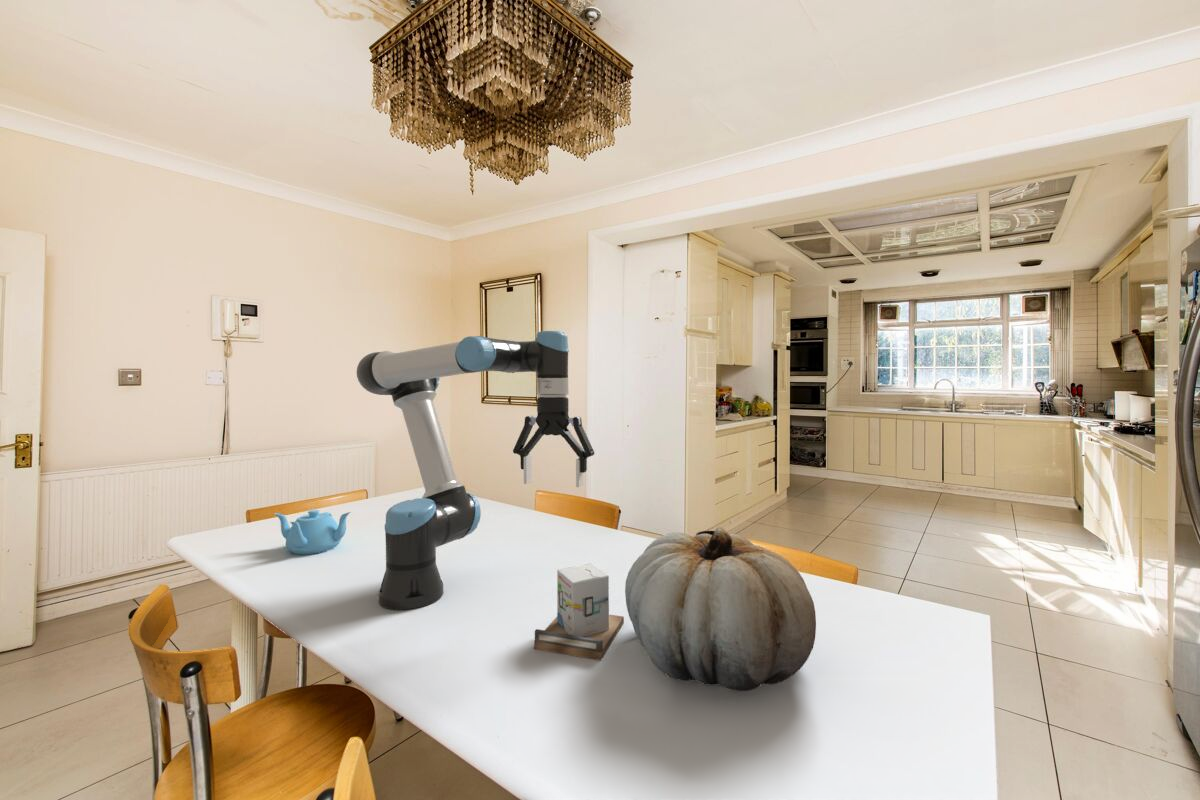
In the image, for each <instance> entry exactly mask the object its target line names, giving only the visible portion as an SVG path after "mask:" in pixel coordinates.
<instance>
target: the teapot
mask: <svg viewBox="0 0 1200 800" xmlns="http://www.w3.org/2000/svg"><path fill="white" fill-rule="evenodd" d="M307 513H308V514H305V515H302V516H299V517H298V518H296V519H295V521H290V522H288V519H287V517H286V515H285V514H284V513H283V514H282V513H279V512H274V513H273V514H274V515H275V516H276V517H277V518H278V519H279V522H280V532H281V535H282V537H283V538H284V539H285V548H286V549H287V550H288V551H289V552H290V553H291V554H293V553H294V555H299V554H307V555H314V554H313V553H316V554H320V553H319V552H321V553H325V552H328V551H327V550H329V551H330V549H331V550H334V549H335V548H336V547H337V546H338V545H339V544H340V543H341V541H342V538H343V537H344V536H345V534H346V531H347V521H346V520H347V517H348V515H349V514H350V513H351V511H349V512H345V513H342V514H341V515H340V517H339V521H338V522H337V521H336V520H335V518H334V517H333V515H332V513H330V512H326V511H324V512H322V513H320V510H319V509H313V510H308V511H307ZM289 523H290V524H291V526H290V525H289ZM334 547H335V548H334ZM324 551H325V552H324Z"/></svg>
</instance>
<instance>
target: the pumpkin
mask: <svg viewBox="0 0 1200 800" xmlns="http://www.w3.org/2000/svg"><path fill="white" fill-rule="evenodd" d="M714 531H715V532H714V533H713V535H710V534H699V535H696V534H695V535H694V536H692V535H689V534H687V533H684V532H676V531H674V532H668V533H665V534H663V535H661V536H659V537H658V538H655V539H654V540H653V541H652V542H651V543H650V544H649V545H648V546H646V548H645V549H644V551H643V553H641V554H640V555H639V556H638V557H637V558H636V559H635V561H634V562H633V564H632V565H631V568H629V571H628V573H627V576H626V579H625V587H624V588H625V590H624V595H625V596H624V597H625V606H626V610H627V614H628V617H629V620H630V622H631V624H632V627H633V628H632V629H633V630H634V633H635V635H636V637H637V639H638V642H639V643H640V645H641V646H642V648H643V650H645V651H646V653H647V655H648V657H649V658H650V660H651V662H652V663H653V664H654V665H655V667H656V668H657V669H658V670H659V671H660V672H661V673H663V674H664V675H666V677H669V678H671V679H674V680H676V681H684V682H685V681H686V682H687V681H688V682H689V681H695V682H698V683H699V684H703V685H706V686H717V685H718V686H721V687H722V688H724V689H727V690H729V691H737V692H746V691H752V690H755V689H757V688H758V687H760V686H762V685H775V684H778V683H782V682H784V681H786V680H788V679H790V678H791V677H792V676H794V675H795V674H796V673H797V672H798V671H800V670H801V669H802V668H803V666H804V665H805V664H806V663H807V661H808V659H809V657H810V655H811V653H812V652H813V649H814V647H815V646H814V645H815V641H816V634H817V633H816V631H817V618H816V616H817V615H816V609H815V602H814V600H813V598H812V597H813V596H812V595H811V593H810V591H809V589H808V587H807V584H806V582H805V580H804V578H803V576H802V575H801V574H800V572H799V571H798V570H797V568H796V567H795V566H794V565H793V564H792V563H791V562H790V561H789V560H788V559H787V558H785V557H784V556H782V555H781V554H778V553H776V552H774V551H772V550H770V549H766V548H764V547H762V546H760V545H755V544H753V542H751V541H750V540H749V539H748V538H746V537H745V536H743V535H740V534H736V533H728V532H727V531H726V529H724V528H723V527H717V528H716V529H715V530H714Z"/></svg>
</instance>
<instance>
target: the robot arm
mask: <svg viewBox="0 0 1200 800" xmlns="http://www.w3.org/2000/svg"><path fill="white" fill-rule="evenodd" d="M568 341H569V340H568V335H567V333H566V332H564V331H560V330H542V331H538V332H537V333H536V338H535V340H529V341H526V340H525V341H517V340H516V341H515V340H509V339H507V340H506V339H499V338H492V337H491V338H490V337H485V336H482V335H474V336H473V335H472V336H471V335H470V336H466V337H463V339H462V340H460V341H456V342H451V343H446V344H440V345H435V346H427V347H423V348H418V349H412V350H411V349H410V350H405V351H401V352H393V351H389V350H385V351H374V352H371V353H368V354H367V355H365V356H363V357H362V358H361V359H360V361H359V362H358V364H357V366H356V378H357V381H358V382H359V384H360V385H361V387H362V389H364V390H365V391H367V392H369V393H371V394H373V395H379V396H391V399H392V401H393V405H394V406H395V407H397V408H399V409H401V412H402V415H403V416H402V417H404V423H405V426H406V428H407V432H408V435H409V438H410V441H411V446H412V449H413V453H414V456H415V459H416V463H417V466H418V471H419V473H420V477H421V479H422V483H423V486H424V487H423V488H424V493H423V494H422V497H420V498H414V499H406V500H403V501H400V502H397V503H396V504H393V505H392V506H391V507H390V508H388V509H387V511H386V513H385V523H384V531H385V535H384V536H385V572H384V575H383V578H382V581H381V584H380V588H379V590H378V605H380V606H381V607H383V608H385V609H388V610H389V609H390V610H398V611H399V610H402V611H403V610H410V609H411V610H412V609H418V608H421V607H425V606H428V605H431V604H432V603H435V602H436V601H439V600H440V599H441V598H442V597H443V595H444V583H443V580H442V578H441V574H440V572H439V568H438V566H437V555H436V554H437V550H436V549H437V547H441V546H444V545H446V544H449V543H451V542H454V541H457V540H461V539H463V538H465V537H467V536H468V535H471V534H472V533H474V531H475V530H476V529H477V528H478V525H479V523H480V520H481V517H482V515H481V513H482V512H481V511H482V510H481V506H480V502H479V501H478V498H477V497H475V496H474V495H473V494H472V493H469V492H467V489H466V486H465V484H464V483H462V482H459V481H458V480H457V477H456V474H455V470H454V467H453V464H452V461H451V457H450V453H449V451H448V450H449V449H448V448H447V443H446V441H445V437H444V435H443V431H442V427H441V424H440V421H439V417H438V414H437V411H436V407H435V404H434V399H435V398H436V396H437V392H436V390H437V389H438V387H439V382H440V378H443V377H444V378H445V377H451V376H457V375H458V376H459V375H465V374H473V373H481V372H501V373H506V374H507V373H508V374H509V373H511V374H516V373H529V372H530V373H531V372H533V373H536V394H537V395H538V397H537V399H536V413H537V415H536V416H533V415H527V416H525V417H524V423H523V424H524V425H523V427H522V430H521V431H520V434H519V436H518V439H517V441H516V443H515V445H514V446H513V447H514V448H513V449H512V452H513V454H515V455H516V454H517V455H518V456H519V457H520V469H521V470H523V485H524V484H525V485H528V484H530V483H533V481H532V477H533V476H532V455H530V453H531V451H532V450H533V449H534V447H535V446H536V445H537V444H538V442H540V440H541V439H542V438H543V436H550V435H551V436H560V437H562V438H563V439H564V441H566V443H567V444H568V445H569V447H570V448H571V449H572V451H573V452H574V453H575V454H576V456H577V457H578V458H576V459H575V487H576V488H580V487H583V486H584V473H586V472H587V470H588V465H587V464H588V460H587V459H588V458H590V457H592V456H594V455H595V451H594V448H593V446H592V445H591V442H590V439H589V437H588V435H587V433H586V431H585V429H584V426H583V424H582V423H583V422H582V417H581V416H574V417H570V416H569V398H568V396H567V395H569V351H570V350H569V342H568ZM535 424H536V425H537V427H538V428H537V429H536V430H535V432H534V434H533V435H532V436H531V438H530V439H529V440H528V438H529V436H530V434H531V432H532V429H533V427H534V426H535ZM570 424H571V426H572V427H573V429H574V432H575V434H576V436H577V438H578V440H579V441H577V439H576V438H575V437H574V436H573V434H572V432H571V431H570V429H569V428H568V426H569V425H570ZM527 441H528V442H527ZM580 444H581V445H580Z"/></svg>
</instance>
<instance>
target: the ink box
mask: <svg viewBox="0 0 1200 800" xmlns="http://www.w3.org/2000/svg"><path fill="white" fill-rule="evenodd" d="M556 573H557V578H556V579H557V580H556V581H557V582H556V583H557V586H556V587H557V588H556V591H557V593H556V594H557V596H556V597H557V603H556V610H557V614H556V617H557V622H558V623H559V624H560V625H561V626H562V627H563V628H564V629H565V631H566V632H567V633H568V634H569V635H575V636H581V637H583V636H587V635H591V634H595V633H599V632H603V631H607V630H609V614H610V604H609V603H610V601H609V599H610V598H609V596H610V595H609V593H610V591H609V589H610V586H609V585H610V584H609V583H610V582H609V581H610V578H609V575H608V573H605V572H604V571H603V570H601V569H600V568H598V567H597V566H595V565H594V564H592V563H587V564H581V565H577V566H576V565H575V566H571V567H565V568H561V569H557V571H556Z"/></svg>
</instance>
